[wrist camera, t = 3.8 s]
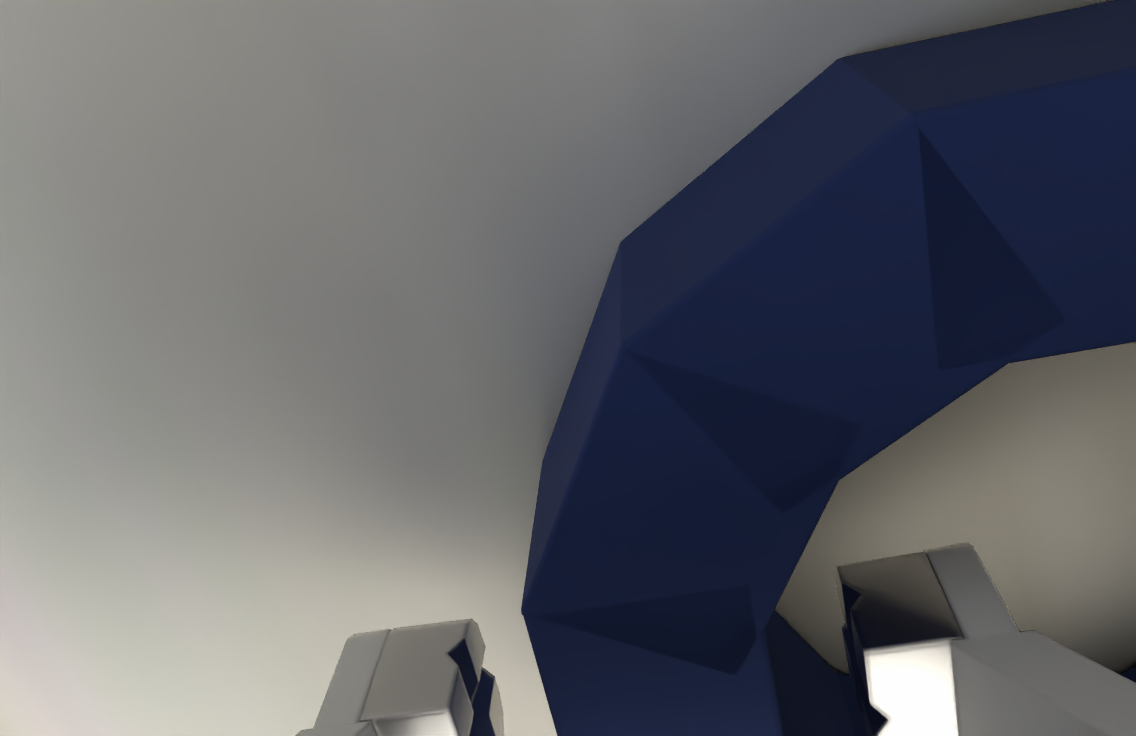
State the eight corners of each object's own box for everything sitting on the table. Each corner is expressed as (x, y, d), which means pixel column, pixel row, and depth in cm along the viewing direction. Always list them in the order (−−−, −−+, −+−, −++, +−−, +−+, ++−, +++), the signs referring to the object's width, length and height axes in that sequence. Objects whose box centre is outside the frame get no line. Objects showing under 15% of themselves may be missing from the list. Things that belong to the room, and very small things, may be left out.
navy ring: (459, 136, 12) (406, 214, 9) (1590, -102, 10) (1964, -99, 8) (646, 864, 16) (651, 1072, 14) (1452, 773, 15) (1652, 985, 12)
